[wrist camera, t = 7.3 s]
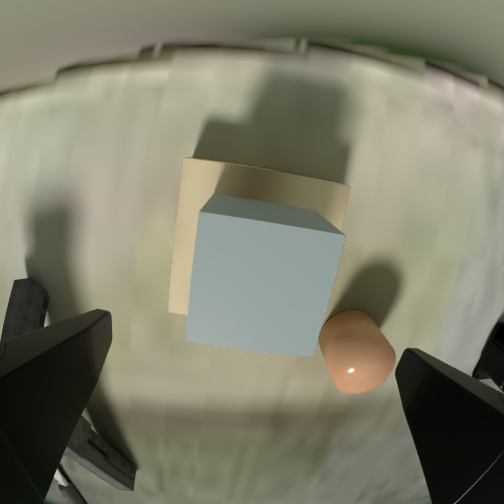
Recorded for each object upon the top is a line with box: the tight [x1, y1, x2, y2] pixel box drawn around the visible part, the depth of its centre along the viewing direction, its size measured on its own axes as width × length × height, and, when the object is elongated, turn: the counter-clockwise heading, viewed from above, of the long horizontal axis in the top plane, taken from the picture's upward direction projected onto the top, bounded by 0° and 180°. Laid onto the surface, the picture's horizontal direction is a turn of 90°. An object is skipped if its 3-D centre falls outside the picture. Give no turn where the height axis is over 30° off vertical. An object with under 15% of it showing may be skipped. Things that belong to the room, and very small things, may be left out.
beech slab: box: [168, 157, 350, 315], centre depth 19 cm, size 9×9×2 cm
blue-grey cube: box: [185, 194, 346, 357], centre depth 15 cm, size 6×6×6 cm
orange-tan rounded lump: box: [319, 310, 396, 393], centre depth 20 cm, size 4×4×4 cm
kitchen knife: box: [54, 468, 85, 504], centre depth 28 cm, size 29×3×5 cm
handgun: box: [0, 278, 136, 491], centre depth 22 cm, size 4×24×10 cm, turn 7°
